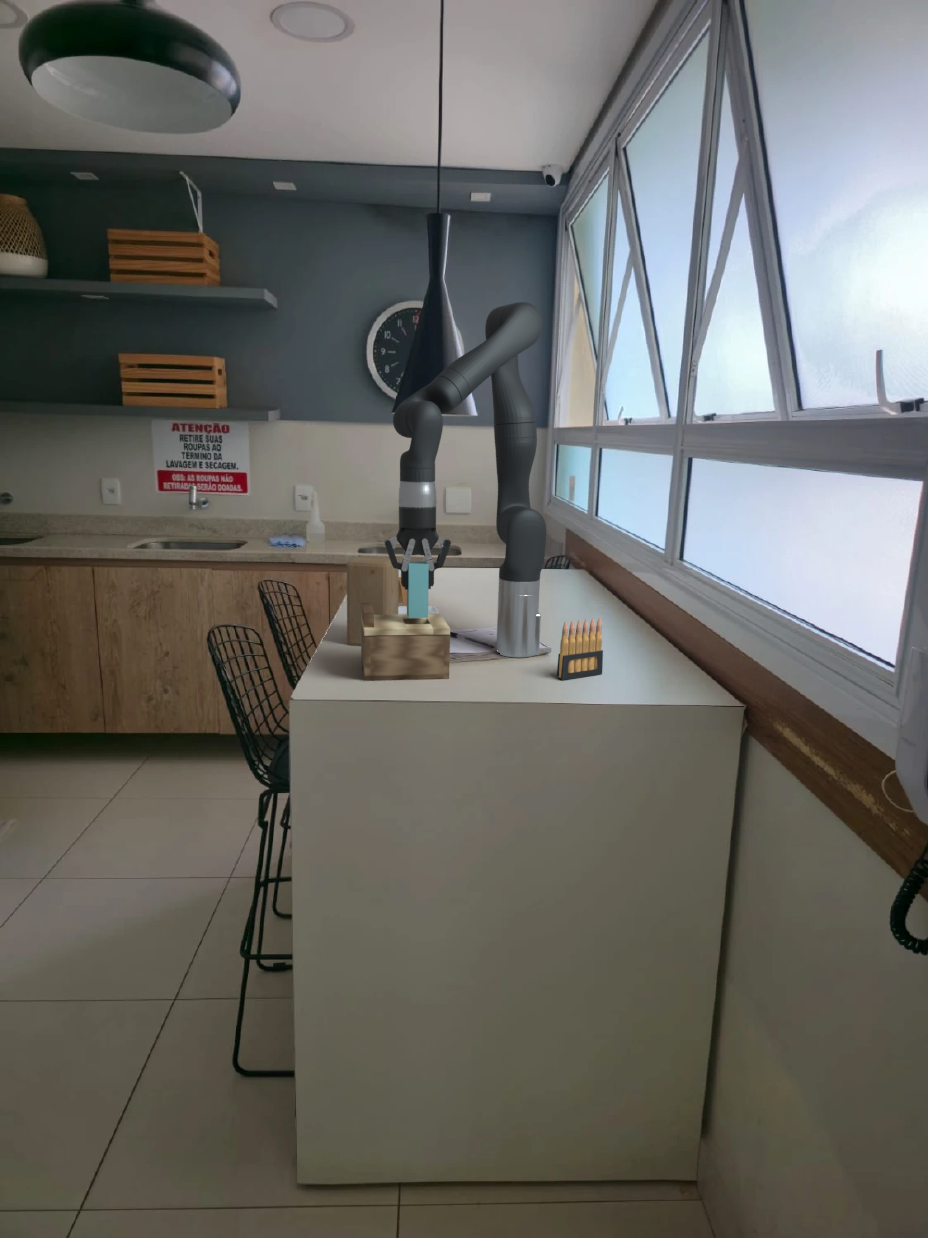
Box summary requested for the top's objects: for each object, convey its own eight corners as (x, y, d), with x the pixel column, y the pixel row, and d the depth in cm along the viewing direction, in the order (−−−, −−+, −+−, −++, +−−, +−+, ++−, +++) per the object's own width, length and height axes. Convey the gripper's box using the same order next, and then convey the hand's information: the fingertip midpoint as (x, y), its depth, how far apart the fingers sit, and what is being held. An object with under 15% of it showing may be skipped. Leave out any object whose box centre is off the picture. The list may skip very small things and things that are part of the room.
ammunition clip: (561, 680, 162) (564, 622, 160) (556, 677, 164) (559, 620, 161) (602, 673, 168) (606, 618, 165) (596, 671, 169) (600, 616, 167)
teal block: (425, 613, 167) (426, 561, 164) (428, 617, 163) (428, 564, 160) (406, 614, 166) (406, 561, 163) (408, 618, 162) (408, 564, 160)
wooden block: (387, 649, 183) (387, 562, 179) (345, 646, 185) (345, 560, 180) (399, 639, 192) (399, 557, 188) (359, 636, 194) (359, 555, 190)
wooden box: (439, 660, 174) (440, 620, 173) (449, 678, 161) (450, 635, 159) (361, 662, 172) (361, 621, 170) (364, 680, 158) (364, 636, 156)
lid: (440, 619, 173) (440, 600, 172) (450, 634, 159) (450, 613, 158) (361, 620, 170) (361, 600, 169) (364, 635, 156) (364, 614, 155)
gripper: (449, 502, 164) (448, 585, 168) (380, 502, 162) (381, 586, 165) (455, 505, 157) (454, 591, 161) (383, 505, 154) (383, 592, 158)
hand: (417, 588), depth 163 cm, fingers closed on teal block, 4 cm apart
